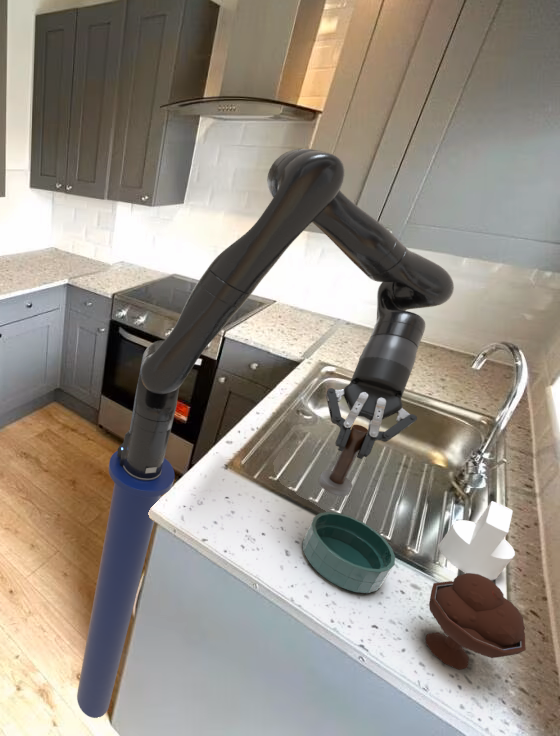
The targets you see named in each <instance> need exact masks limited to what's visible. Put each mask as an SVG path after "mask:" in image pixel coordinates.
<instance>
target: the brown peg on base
mask: <svg viewBox="0 0 560 736" xmlns="http://www.w3.org/2000/svg"><path fill="white" fill-rule="evenodd" d="M350 430H351V433H350V435H349V438H348V440H347V443H346V445H345V448H344V450H343V451H340V453H339V455H338V457H337V459H336V461H335V464H334V466H333V468H332V469H331V470H323V471H322V472H321V473H320V474H319V477H318V479H317V481H318V484H319V486H320V487H321V488H322V489H323V490H325V491H326V492H327V493H329V494H331V495H333V496H337V497H346V496H348V495H349V494H350V493H351V491H352V488H353V484H352V481H351V480H350V479H349V478H348V477H347V476H348V475H349V472H350V470H351V468H352V466H353V463H354V462H355V460H356V458H357V454H358V452H359V449H360V447H361V445H362V443H363V441H364V439H365V437H366V435H367V433H368V428H366V427H365V426H363V425H361V424H353V425H352V426H351V429H350Z"/></svg>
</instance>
